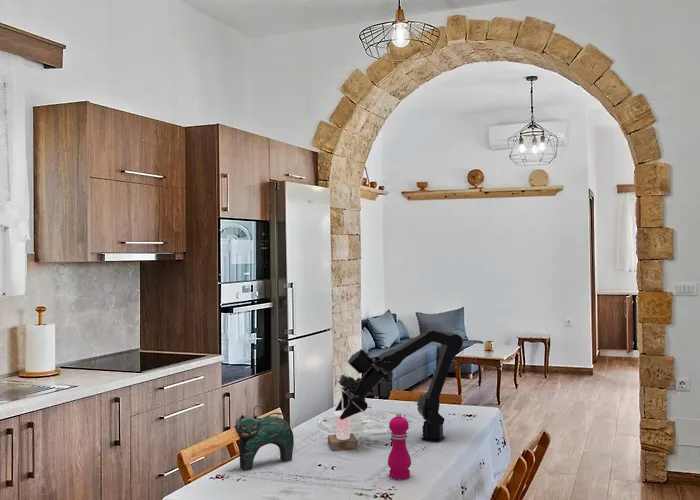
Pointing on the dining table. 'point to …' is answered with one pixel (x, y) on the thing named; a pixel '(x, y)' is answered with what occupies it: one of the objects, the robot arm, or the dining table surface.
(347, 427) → the beverage cup
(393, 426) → the pepper mill
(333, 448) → the walnut block
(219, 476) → the dining table surface
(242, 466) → the ceramic cat
